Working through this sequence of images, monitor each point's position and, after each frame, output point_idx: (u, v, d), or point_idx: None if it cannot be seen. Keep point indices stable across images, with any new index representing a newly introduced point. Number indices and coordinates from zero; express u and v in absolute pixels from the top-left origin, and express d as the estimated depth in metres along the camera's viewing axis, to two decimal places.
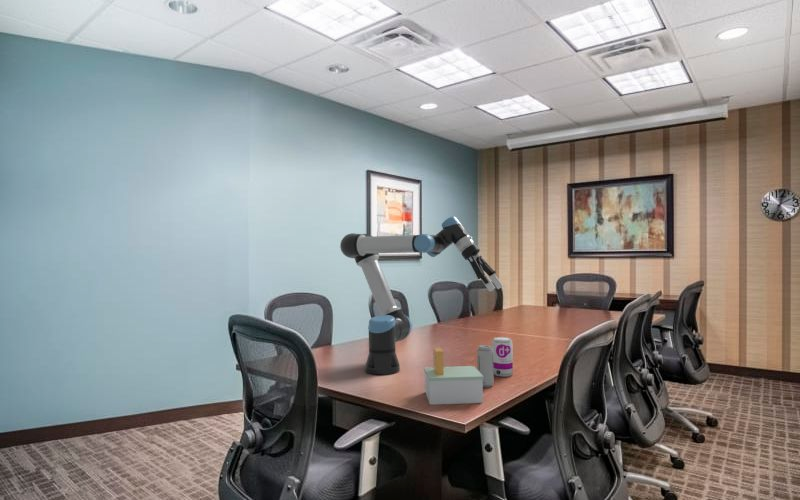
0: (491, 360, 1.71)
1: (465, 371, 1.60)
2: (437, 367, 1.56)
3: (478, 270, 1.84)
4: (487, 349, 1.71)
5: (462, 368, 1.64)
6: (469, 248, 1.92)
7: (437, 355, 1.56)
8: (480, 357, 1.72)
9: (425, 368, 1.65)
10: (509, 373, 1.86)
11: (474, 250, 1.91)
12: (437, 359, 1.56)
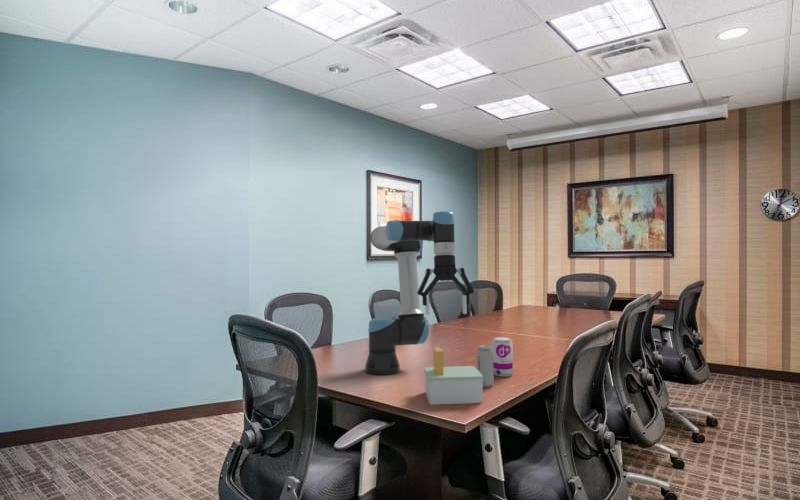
0: (491, 360, 1.71)
1: (465, 371, 1.60)
2: (437, 367, 1.56)
3: (419, 288, 1.60)
4: (487, 349, 1.71)
5: (462, 368, 1.64)
6: (436, 258, 1.61)
7: (437, 355, 1.56)
8: (480, 357, 1.72)
9: (425, 368, 1.65)
10: (509, 373, 1.86)
11: (438, 263, 1.59)
12: (437, 359, 1.56)
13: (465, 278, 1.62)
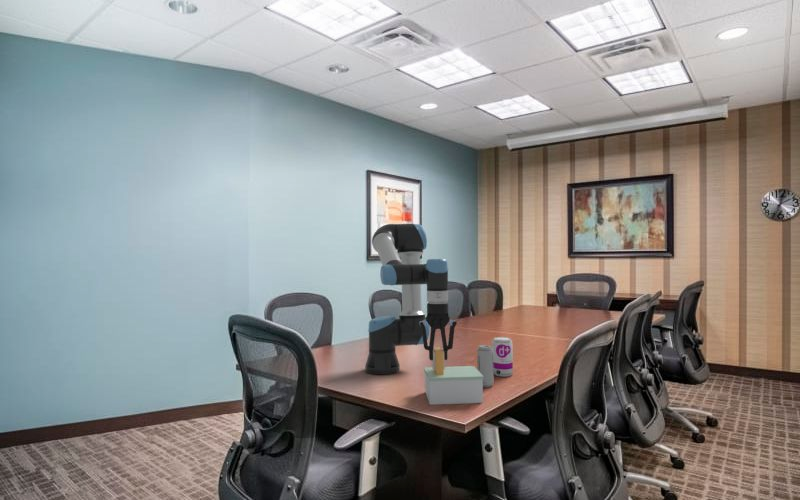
0: (491, 360, 1.71)
1: (465, 371, 1.60)
2: (437, 367, 1.56)
3: (423, 343, 1.59)
4: (487, 349, 1.71)
5: (462, 368, 1.64)
6: (428, 306, 1.58)
7: (437, 355, 1.56)
8: (480, 357, 1.72)
9: (425, 368, 1.65)
10: (509, 373, 1.86)
11: (430, 312, 1.57)
12: (437, 359, 1.56)
13: (452, 332, 1.59)
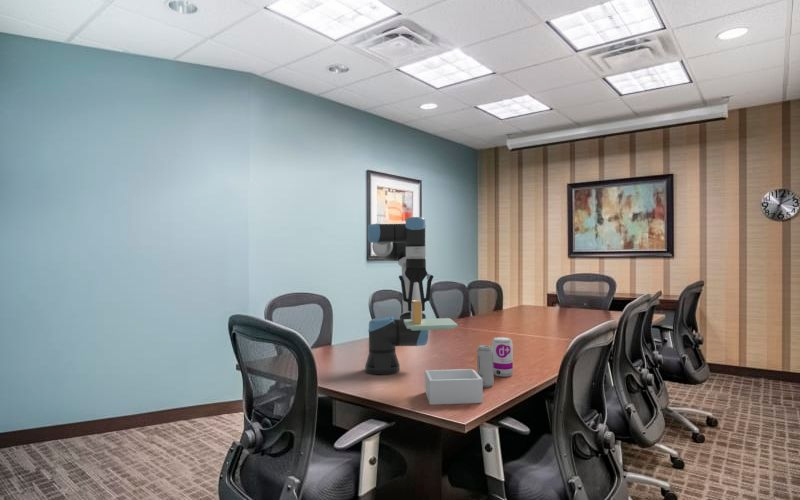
0: (491, 360, 1.71)
1: (441, 321, 1.72)
2: (415, 317, 1.68)
3: None
4: (487, 349, 1.71)
5: (439, 319, 1.77)
6: (407, 261, 1.70)
7: (415, 306, 1.68)
8: (480, 357, 1.72)
9: (404, 320, 1.77)
10: (509, 373, 1.86)
11: (409, 266, 1.69)
12: (415, 310, 1.68)
13: (429, 285, 1.71)
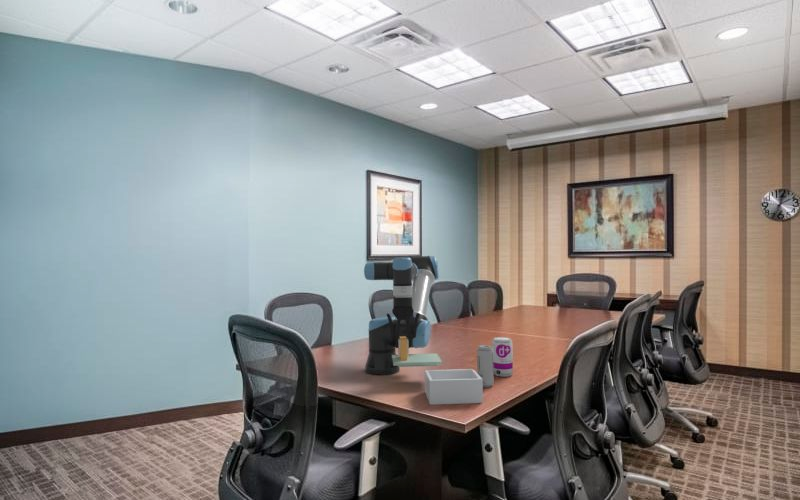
0: (491, 360, 1.71)
1: (427, 357, 1.79)
2: (401, 354, 1.75)
3: (390, 333, 1.78)
4: (487, 349, 1.71)
5: (425, 355, 1.83)
6: (394, 300, 1.78)
7: (401, 343, 1.75)
8: (480, 357, 1.72)
9: (392, 355, 1.84)
10: (509, 373, 1.86)
11: (396, 305, 1.76)
12: (401, 346, 1.75)
13: (415, 323, 1.78)
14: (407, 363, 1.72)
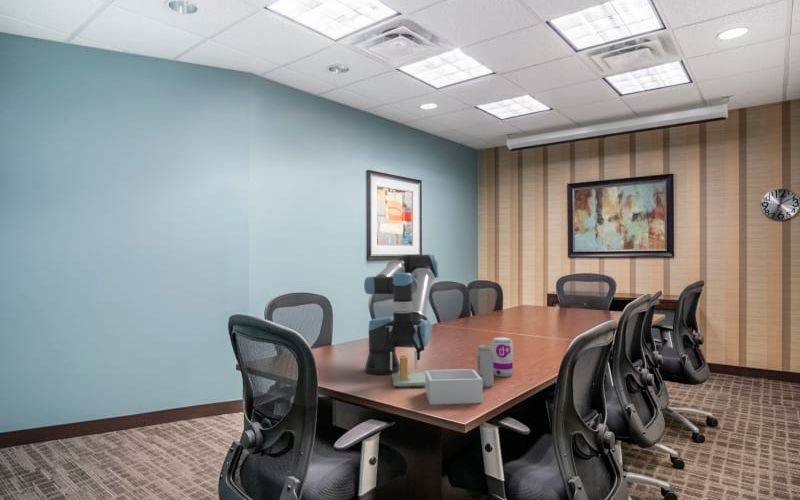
0: (491, 360, 1.71)
1: None
2: (402, 373, 1.75)
3: (383, 345, 1.78)
4: (487, 349, 1.71)
5: None
6: (394, 315, 1.77)
7: (402, 363, 1.75)
8: (480, 357, 1.72)
9: (393, 374, 1.84)
10: (509, 373, 1.86)
11: (396, 320, 1.76)
12: (402, 366, 1.75)
13: (419, 336, 1.78)
14: (407, 383, 1.72)
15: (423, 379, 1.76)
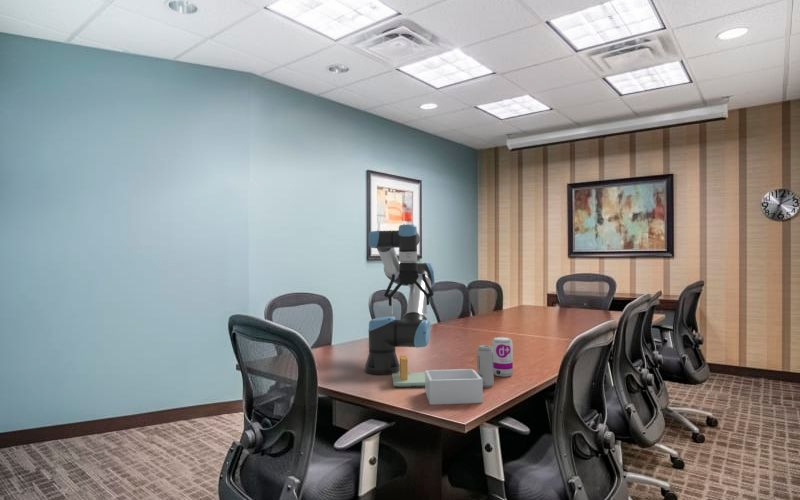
0: (491, 360, 1.71)
1: None
2: (402, 373, 1.75)
3: None
4: (487, 349, 1.71)
5: None
6: (399, 265, 1.85)
7: (402, 363, 1.75)
8: (480, 357, 1.72)
9: (393, 374, 1.84)
10: (509, 373, 1.86)
11: (401, 269, 1.84)
12: (402, 366, 1.75)
13: (426, 282, 1.86)
14: (407, 383, 1.72)
15: (423, 379, 1.76)
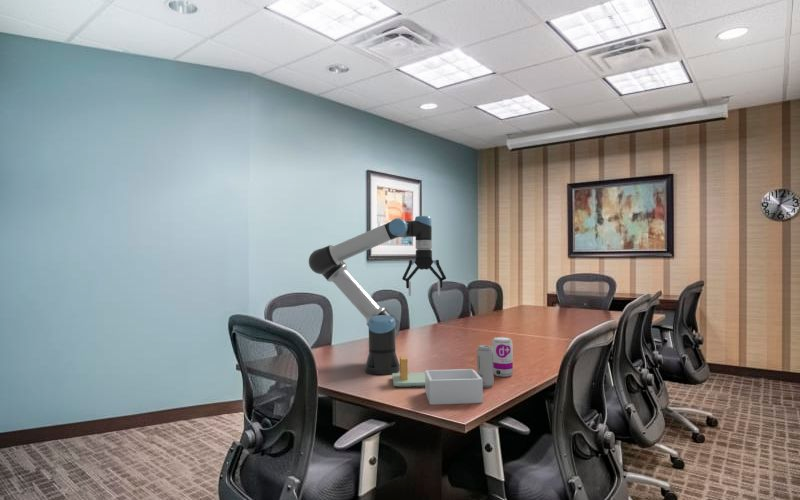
0: (491, 360, 1.71)
1: None
2: (402, 373, 1.75)
3: None
4: (487, 349, 1.71)
5: None
6: (416, 252, 2.08)
7: (402, 363, 1.75)
8: (480, 357, 1.72)
9: (393, 374, 1.84)
10: (509, 373, 1.86)
11: (418, 256, 2.07)
12: (402, 366, 1.75)
13: (439, 268, 2.09)
14: (407, 383, 1.72)
15: (423, 379, 1.76)
